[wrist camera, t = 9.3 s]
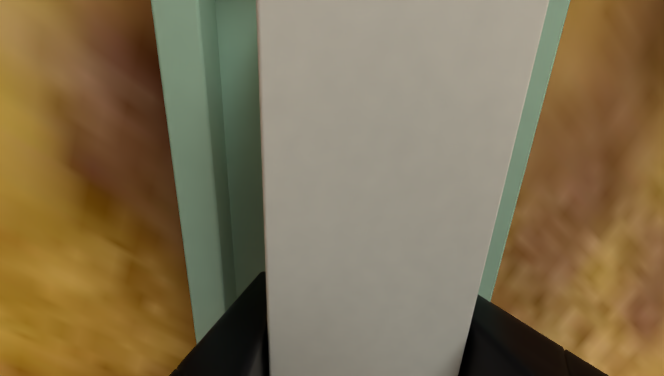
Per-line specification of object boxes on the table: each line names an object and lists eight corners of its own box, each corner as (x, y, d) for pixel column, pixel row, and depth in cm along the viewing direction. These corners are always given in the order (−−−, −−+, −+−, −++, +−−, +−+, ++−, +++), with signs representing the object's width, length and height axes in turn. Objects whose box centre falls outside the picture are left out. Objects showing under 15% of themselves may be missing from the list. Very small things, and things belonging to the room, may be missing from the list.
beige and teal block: (272, -13, 7) (252, -60, 4) (443, -3, 8) (561, -37, 4) (280, 421, 12) (275, 564, 9) (384, 414, 12) (416, 549, 9)
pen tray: (422, 432, 14) (440, 490, 12) (228, 446, 13) (218, 511, 12) (538, -113, 8) (615, -161, 6) (167, -150, 7) (119, -220, 5)
